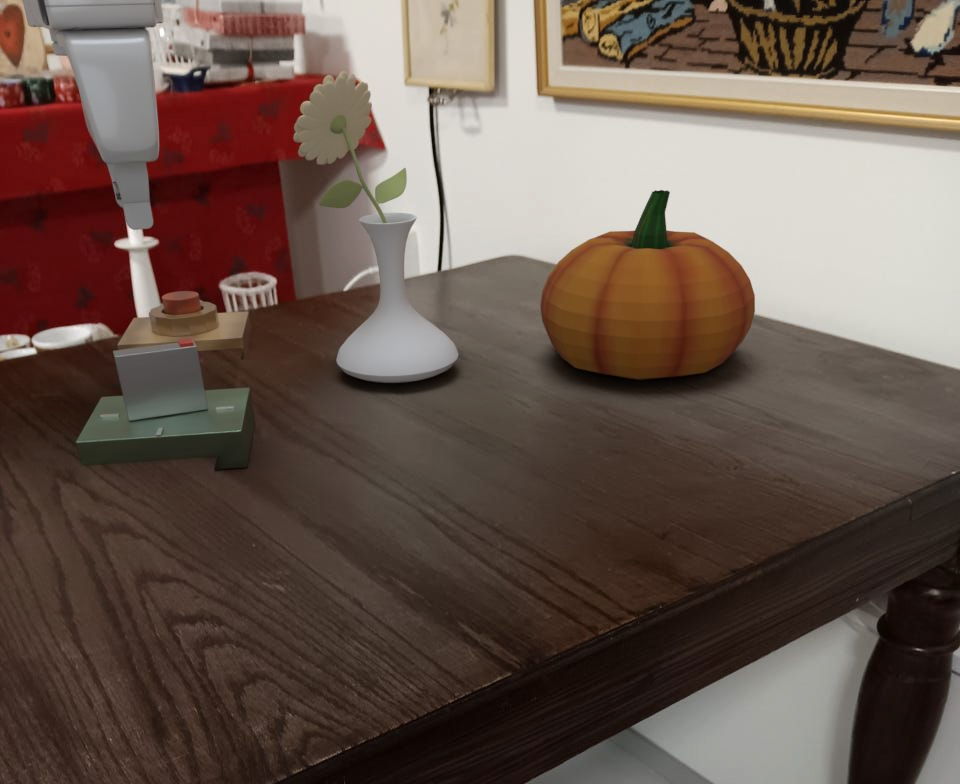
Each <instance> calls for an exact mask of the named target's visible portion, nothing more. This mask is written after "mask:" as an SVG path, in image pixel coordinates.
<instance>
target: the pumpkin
mask: <svg viewBox="0 0 960 784" xmlns="http://www.w3.org/2000/svg"><path fill="white" fill-rule="evenodd" d="M670 193H671V191H669V190H663V189H660V190H656V189H655V190H654V191H653V190H652V191H651V193H650V195H649V198H648V200H647V202H646V204H645V207H644V208H643V211H642V213H641V215H640V218H639V220H638V223H637V225H636V227H635V229H634V230H615V231H614V230H613V231H608V232H605V233H602V234H600V235H597V236H595V237H592V238H589V239H587V240H586V241H584V242H583V243H581V244H579V245H577V246H576V247H574V248H573V249H571V250H569V252H567V254H565V255H564V256H563V257H562V258H561V259H560V260H559V261H558V262H557V264H556V265H555V266H554V268H552V270H551V272H550V273H549V274H548V275H547V278H546V281H545V284H544V286H543V288H542V291H541V298H540V313H541V314H540V315H541V322H542V324H543V327H544V329H545V331H546V334H547V336H548V338H549V341H550V344H551V345H552V347H553V348H554V350H555V351H556V352H557V354H558V355H559V356H560V357H561V358H562V359H563V360H564V361H565V362H567V363H568V364H570V365H571V366H572V367H573V368H574V369H579V370H582V371H588V372H592V373H597V374H601V375H607V376H612V377H617V378H623V379H624V378H625V379H629V380H635V381H645V380H646V379H647V380H657V379H667V378H668V377H669V378H678V376H679V377H685V376H692V375H697V374H706V373H707V372H709V371H711V370H713V369H715V368H717V367H718V366H720V365H722V364H724V363H725V362H726V361H727V360H728V359H729V357H731V355H732V354H733V353H734V352H735V351H736V350H737V349H738V347H740V345H741V344H742V343H743V342H744V340H745V338H746V336H747V335H748V333H749V331H750V330H751V328H752V325H753V320H754V316H755V312H756V299H755V297H756V294H755V291H754V288H753V284H752V281H751V279H750V277H749V276H748V274H747V272H746V270H745V269H744V267H743V265H741V263H740V262H739V261H738V260H737V258H735V257H734V256H733V255H732V254H731V253H730V252H729V251H728V250H726V249H724V247H722V246H720V245H719V244H717V243H715V242H714V241H712V240H711V239H709V238H707V237H704V236H703V235H700V234H699V233H696V232H693V231H673V230H667V221H666V211H667V206H668V202H669V198H670Z"/></svg>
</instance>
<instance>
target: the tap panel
mask: <svg viewBox="0 0 960 784" xmlns="http://www.w3.org/2000/svg"><path fill="white" fill-rule="evenodd" d="M205 395H206V400H207V406H208V409H207V410H200V411H193V412H187V413H180V414H173V415H166V416H160V417H153V418H146V419H140V420H133V421H129V419H128V416H127V412H126V407H125V403H124V399H123V395H111V396H101V397H100V398H99V401H98V403H97V404H96V406H95V408H94V409H93V410H92V413H91V415H90V417H89V418H88V420H87V421H86V423H85V425H84V426H83V429H82V430H81V432H80V433H79V435H78V437H77V439H76V440H75V445H76V448H77V452H78V457H79V460H80V464H81V466H82V467H85V466H96V465H97V466H99V465H111V464H113V465H114V464H125V463H126V464H128V463H138V462H139V463H140V462H155V461H166V460H167V461H169V460H180V459H181V460H182V459H194V458H195V459H196V458H210V457H216V460H215V464H214V469H213V471H219V470H233V469H247V468H248V465H249V459H250V454H251V453H250V452H251V447H252V442H253V435H254V431H255V430H254V428H255V423H256V419H255V412H254V405H253V399H252V393H251V388H250V387H234V388H220V389H205Z"/></svg>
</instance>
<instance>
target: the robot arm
mask: <svg viewBox="0 0 960 784" xmlns="http://www.w3.org/2000/svg"><path fill="white" fill-rule="evenodd" d="M22 4H23V9H24V13H25V18H26V23H27V25H28V27H31V28H44V29H47V30H48V32H49V36H50V40H51V41H52V42H53V43H52V44H51V46H52V49H53V54H54V55H55V56H59V57H60V56H61V57H67V59H68V61H69V64H70V67H71V70H72V73H73V77H74V80H75V82H76V85H77V89H78V91H79V96H80V101H81V107H82V112H83V117H84V121H85V124H86V128H87V130H88V133H89V136H90V137H91V139H92V142H93V143H94V145H95V147H96V149H97V151H98V153H99V154H100V157H101V159H102V161H103V162H104V163H105V164H106V166H107V170H108V172H109V176H110V179H111V183H112V189H113V192H114V197H115V201H116V203H117V205H118V206H119V207H120V208H122V209H123V214H124V219H125V224H126V225H127V226H128V228H129V229H131V230H133V231H135V230H136V231H137V230H148V229H151V228H152V227H153V226H154V217H153V210H152V206H151V205H152V204H151V199H150V196H151V195H150V184H149V181H150V180H149V172H148V167H147V163H151V162H155V161H157V160H158V159H159V153H160V131H159V130H160V129H159V115H158V114H159V113H158V105H157V92H156V83H155V82H156V81H155V72H154V70H155V69H154V60H153V49H152V42H151V36H150V32H149V31H148V28H155V27H156V26H157V24H163V23H164V22H165V18H164V12H163V7H162V1H161V0H22Z"/></svg>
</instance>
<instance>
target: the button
mask: <svg viewBox="0 0 960 784" xmlns="http://www.w3.org/2000/svg"><path fill="white" fill-rule="evenodd" d="M161 301H162V305H163V307H164V312H165V314H169V315H183V314H190V313H196V312H199V311H201V305H200V301H201V300H200V295H199V293H198V292H196V291H193V290H181V291H173V292H167V293H165V294H163V295H162V296H161Z"/></svg>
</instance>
